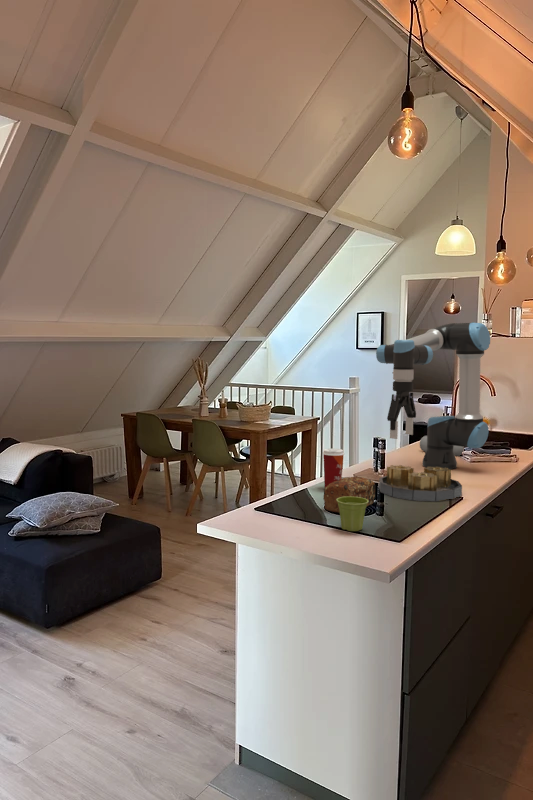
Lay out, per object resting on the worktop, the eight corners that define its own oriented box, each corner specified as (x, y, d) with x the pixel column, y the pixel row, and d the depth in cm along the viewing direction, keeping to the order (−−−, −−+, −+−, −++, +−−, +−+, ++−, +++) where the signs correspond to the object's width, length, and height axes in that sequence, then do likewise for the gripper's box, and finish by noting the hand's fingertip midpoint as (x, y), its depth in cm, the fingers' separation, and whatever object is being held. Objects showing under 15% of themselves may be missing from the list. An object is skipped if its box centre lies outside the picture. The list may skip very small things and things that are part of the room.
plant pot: (333, 524, 186) (333, 496, 185) (363, 523, 187) (364, 495, 186) (339, 533, 177) (339, 504, 176) (371, 533, 178) (372, 503, 177)
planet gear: (416, 482, 236) (417, 467, 235) (406, 487, 228) (406, 471, 228) (393, 479, 241) (394, 464, 241) (382, 483, 234) (383, 467, 233)
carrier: (400, 479, 251) (400, 461, 250) (471, 490, 233) (472, 470, 232) (365, 492, 227) (366, 472, 227) (442, 505, 210) (443, 484, 209)
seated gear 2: (430, 480, 240) (430, 465, 239) (453, 484, 234) (454, 468, 233) (419, 484, 232) (420, 469, 232) (444, 488, 226) (445, 472, 226)
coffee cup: (342, 492, 227) (343, 452, 226) (320, 490, 229) (321, 451, 228) (344, 487, 235) (345, 448, 234) (323, 485, 237) (323, 447, 236)
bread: (349, 516, 196) (350, 485, 195) (321, 510, 202) (321, 480, 201) (376, 504, 211) (377, 475, 210) (349, 499, 217) (349, 471, 216)
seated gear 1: (415, 486, 229) (415, 470, 228) (439, 490, 223) (440, 474, 222) (404, 491, 221) (404, 475, 221) (429, 495, 215) (430, 478, 215)
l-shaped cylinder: (422, 454, 304) (464, 455, 302) (422, 433, 306) (464, 434, 303) (418, 455, 322) (457, 457, 319) (418, 435, 323) (457, 437, 321)
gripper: (407, 378, 243) (406, 431, 245) (378, 381, 224) (377, 439, 226) (425, 379, 239) (424, 433, 241) (397, 382, 219) (396, 441, 221)
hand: (401, 436), depth 233 cm, fingers open, 13 cm apart
